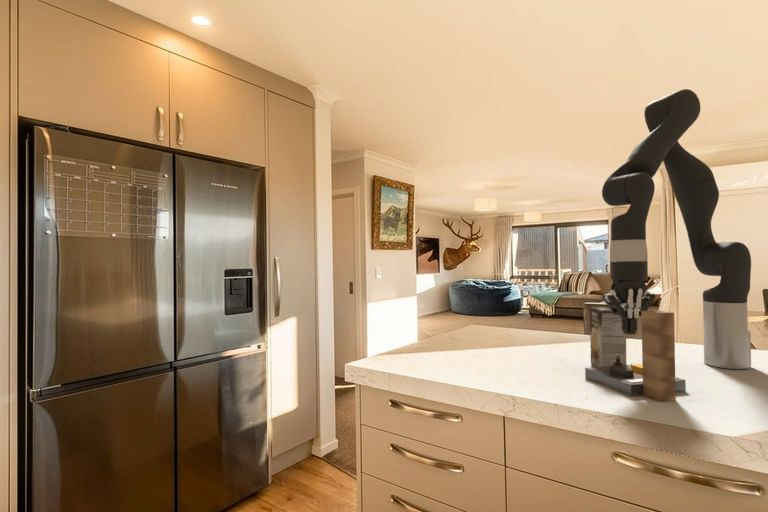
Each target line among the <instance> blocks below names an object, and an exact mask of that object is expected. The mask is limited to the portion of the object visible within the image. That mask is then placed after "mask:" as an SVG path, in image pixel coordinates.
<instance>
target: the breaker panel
mask: <svg viewBox="0 0 768 512" xmlns="http://www.w3.org/2000/svg"><path fill="white" fill-rule="evenodd" d="M584 374H585V377H584V378H585V379H587V380H588V381H592V382H594V383H596V384H599V385H602V386H604V387H607V388H609V389H611V390H613V391H616V392H618V393H621V394H623V395H626V396H629V397H643V364H640V363H630V364H626V365H618V366H604V367H593V366H592V367H585V368H584ZM686 382H687V381H686V379H684V378H680V377H676V376H675V387H676V393H683V392H684V393H685V392H686V391H687V390H686V389H687V387H686Z"/></svg>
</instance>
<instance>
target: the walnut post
mask: <svg viewBox="0 0 768 512" xmlns="http://www.w3.org/2000/svg"><path fill="white" fill-rule="evenodd" d="M675 341H676V340H675V312H673V311H672V312H671V311H665V310H659V309H658V310H657V309H656V310H653V309H652V310H647V311H642V315H641V348H642V349H641V352H642V353H641V354H642V356H641V357H642V358H641V359H642V362H641V363H642V365H643V396H644V397H646V398H648V399H650V400H654V401H655V402H656V401H657V402H659V403H660V402H661V403H662V402H673V401H677V400H676V398H677V397H676V395H677V394H676V393H677V392H676V387H675V377H676V351H675V350H676V347H675V346H676V343H675ZM643 396H642V397H643Z"/></svg>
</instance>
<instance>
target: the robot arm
mask: <svg viewBox="0 0 768 512" xmlns="http://www.w3.org/2000/svg"><path fill="white" fill-rule="evenodd" d="M700 115H701V101H700V99H699V96H698V95H697V93H695V92H694V91H693V90H692V89H687V88H685V89H680V90H677V91H676V90H675V91H674V92H671V93H670V94H668V95H665V96H662V97H661V98H657V99H655V100H653V101H651V102H650V103H648V104H647V105H646V106H645V108H644V120H645V124H646V127H647V129H648V132H649V133H648V134H647V135H646V136H645V137H644V138H643V139H641V140H640V141H639V142H638V144H636V146H635V147H634V148H633V150H632V152H631V153H630V155H629V156H628V158H627V160H626V161H625V162H624V163H622V165H620V166H619V167H617V168H616V169H615V170H614V172H612V173H611V174H610V175H609V176H608V177H607V178H606V180H605V181H604V183H603V185H602V190H601V196H602V200H603V201H604V203H606V204H607V205H608V206H611V207H619V206H628V205H630V206H629V208H628V210H627V211H626V212H625V213H622V214H619V215H617V216H614V217H613V218H612V219H611V222H610V236H611V237H610V249H609V266H610V267H609V271H610V272H609V275H610V276H609V277H610V280H612V284H611V286H610V291H608V293H604V294H602V295H601V296H602V299H603V300H604V302H605V303H606V304H607V307H609V308H610V309H611V310H612V312H613V313H614V314H615V315H619V316H621V318H622V330H623V332H624V333H625V334H626V335H636V333H637V331H638V318H639V317H640V316H642V311H649V308H650V306H651V305H652V303H653V302H654V300H655V299H656V294H655V293H652V292H649V291H648V286H647V285H646V281H647V280H648V275H649V271H648V267H649V266H648V265H649V264H648V245H647V230H646V229H647V219H648V215H649V212H650V208H651V205H652V202H653V198H654V194H655V191H656V190H655V188H656V187H655V182H654V180H653V178H654V176H656V173H657V172H658V170H659V169H660V167H661V165H662V163H663V164H664V167H665V168H664V169H666V170H665V171H666V172H667V176H668V179H669V182H670V185H671V189H672V192H673V194H674V197H675V200H676V202H677V205H678V207H679V211H680V213H681V217H682V220H683V223H684V225H685V228H686V233H687V236H688V242H689V246H690V250H691V255H692V259H693V262H694V265H695V267H696V269H697V271H699V273H701V275H704V276H712V277H720V281H719V283H717V285H715V286H714V287H711V288H708V289H705V290H703V292H702V317H703V319H702V321H703V323H702V324H703V326H702V329H703V363H704V364H706V365H709V366H711V367H716V368H722V369H727V370H729V369H731V370H747V369H749V368H751V367H752V346H751V345H752V344H751V343H752V342H751V341H752V339H751V331H750V330H749V318H748V314H749V313H748V297H749V293H750V290H751V276H752V275H751V274H752V257H751V256H752V255H751V253H750V252H751V251H750V250H749V248H748V247H747V245H745V244H744V243H743V242H739V241H726V242H725V241H722V242H717V241H716V239H715V237H714V233H713V231H712V220H713V219H712V218H713V216H714V214H715V210H716V208H717V205H718V203H719V199H720V191H719V187H718V185H717V182H716V179H715V176H714V172H713V170H712V169H711V168H710V167H709V166H708V165H707V163H704V161H703V160H701V159H700V158H698V157H696V156H695V155H693V154H692V153H690V152H689V151H688V150H686V149H685V148H684V147H683V146H682V145H681V144H680V143H679V140H680V139H681V137H682V136H683V135H684V134H685V133H686V132H687V131H688V130H689V128H690V127H691V126H692V125H694V123H695V122H696V121H697V120H698V118H699V117H700Z"/></svg>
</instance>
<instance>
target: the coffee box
mask: <svg viewBox="0 0 768 512" xmlns="http://www.w3.org/2000/svg"><path fill="white" fill-rule="evenodd" d="M589 326H590V327H589V328H590V329H589V331H590V332H589V336H590V338H589V339H590V340H589V341H590V365H591V366H592V367H604V366H618V365H627V334H625V333H624V332H623V330H622V318H621V316H619V315H615V314H614V313H613V312H612V310H611V309H610V308H609V306H590V307H589Z"/></svg>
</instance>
